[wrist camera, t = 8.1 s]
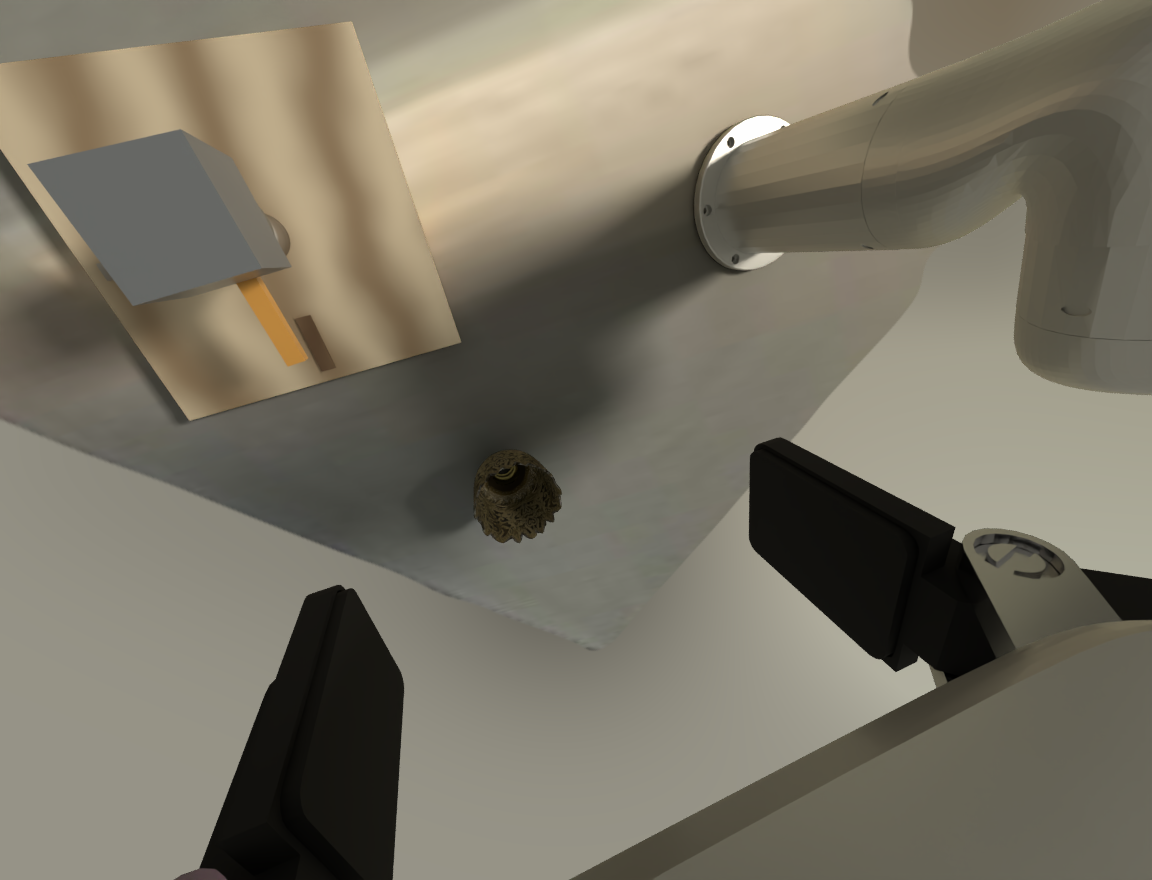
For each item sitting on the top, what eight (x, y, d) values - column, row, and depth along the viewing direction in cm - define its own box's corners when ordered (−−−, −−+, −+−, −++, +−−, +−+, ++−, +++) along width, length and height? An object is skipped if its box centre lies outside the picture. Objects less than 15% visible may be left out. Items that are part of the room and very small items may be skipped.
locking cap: (140, 192, 21) (27, 164, 15) (246, 166, 22) (180, 128, 16) (259, 373, 25) (209, 408, 19) (343, 345, 26) (321, 370, 20)
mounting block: (356, 36, 27) (335, -41, 20) (459, 338, 36) (469, 356, 29) (-20, 84, 23) (-207, 8, 16) (201, 412, 32) (142, 453, 25)
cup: (549, 478, 44) (574, 518, 37) (484, 510, 43) (498, 558, 36) (521, 418, 41) (543, 450, 34) (451, 452, 40) (458, 492, 33)
